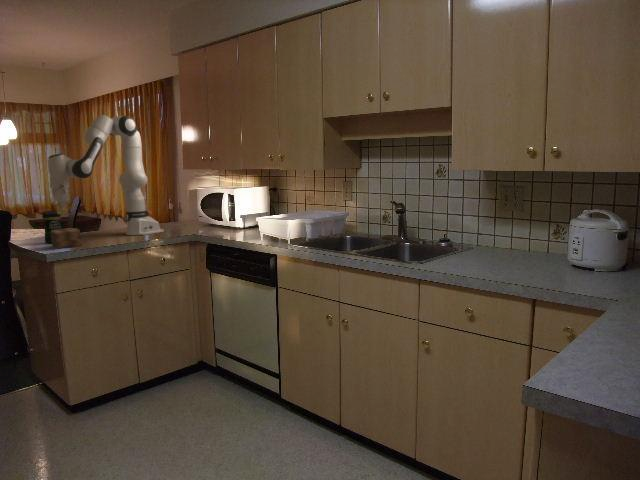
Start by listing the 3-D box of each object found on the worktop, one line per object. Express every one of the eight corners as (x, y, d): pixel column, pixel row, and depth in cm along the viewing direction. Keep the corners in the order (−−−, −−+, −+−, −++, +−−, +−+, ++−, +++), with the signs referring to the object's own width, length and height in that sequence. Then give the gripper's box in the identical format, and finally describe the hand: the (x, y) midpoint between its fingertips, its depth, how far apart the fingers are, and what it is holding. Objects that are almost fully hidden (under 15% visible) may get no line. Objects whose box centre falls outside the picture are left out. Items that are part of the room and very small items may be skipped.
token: (67, 213, 277) (66, 203, 276) (68, 213, 275) (67, 204, 274) (57, 213, 274) (56, 204, 273) (58, 214, 272) (57, 204, 271)
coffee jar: (46, 244, 286) (42, 212, 283) (44, 242, 293) (40, 211, 290) (65, 242, 292) (61, 210, 289) (62, 240, 298) (58, 209, 295)
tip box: (76, 243, 286) (74, 227, 284) (81, 246, 276) (79, 229, 275) (52, 246, 278) (50, 230, 277) (57, 249, 269) (55, 232, 267)
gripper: (70, 184, 266) (73, 210, 268) (61, 183, 281) (64, 208, 284) (57, 185, 262) (60, 211, 264) (49, 184, 277) (52, 209, 280)
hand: (62, 210), depth 274 cm, fingers closed on token, 2 cm apart
